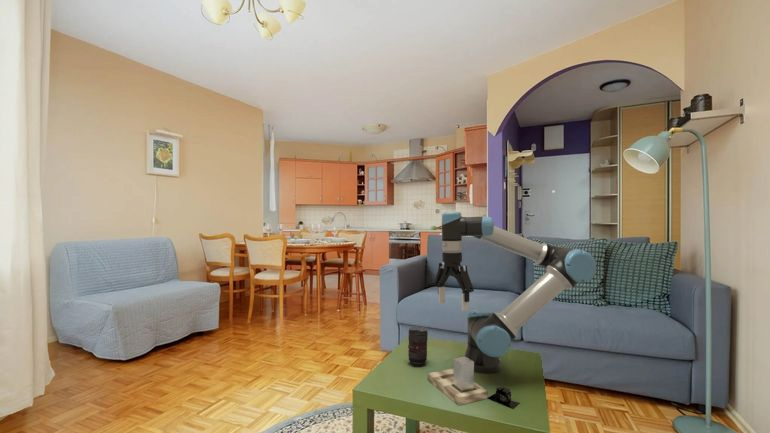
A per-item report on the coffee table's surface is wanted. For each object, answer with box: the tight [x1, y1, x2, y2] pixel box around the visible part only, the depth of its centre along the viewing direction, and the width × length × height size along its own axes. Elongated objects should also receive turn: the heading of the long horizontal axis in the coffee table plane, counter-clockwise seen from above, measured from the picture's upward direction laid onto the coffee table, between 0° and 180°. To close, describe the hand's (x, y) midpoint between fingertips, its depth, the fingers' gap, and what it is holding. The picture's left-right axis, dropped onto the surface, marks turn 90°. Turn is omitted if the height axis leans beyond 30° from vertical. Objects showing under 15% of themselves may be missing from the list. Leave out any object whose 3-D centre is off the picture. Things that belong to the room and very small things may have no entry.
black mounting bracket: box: [487, 385, 521, 410], centre depth 118 cm, size 12×7×5 cm, turn 45°
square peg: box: [452, 356, 475, 393], centre depth 122 cm, size 5×5×12 cm
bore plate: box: [427, 368, 489, 406], centre depth 127 cm, size 12×20×2 cm, turn 23°
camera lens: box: [407, 325, 429, 368], centre depth 149 cm, size 8×8×15 cm
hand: (453, 306), depth 135 cm, fingers open, 13 cm apart
